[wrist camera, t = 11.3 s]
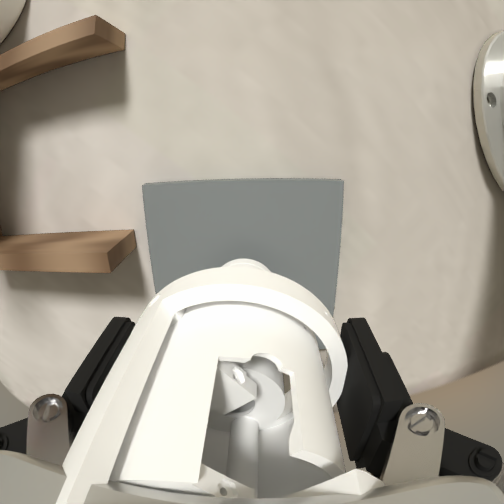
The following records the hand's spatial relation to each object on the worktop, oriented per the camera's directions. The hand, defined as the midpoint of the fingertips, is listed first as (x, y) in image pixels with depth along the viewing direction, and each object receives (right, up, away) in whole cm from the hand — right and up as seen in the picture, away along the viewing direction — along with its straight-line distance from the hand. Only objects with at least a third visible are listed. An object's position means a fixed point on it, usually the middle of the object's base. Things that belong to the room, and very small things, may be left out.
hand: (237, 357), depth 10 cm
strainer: (0, +2, +5) cm, 6 cm away
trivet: (0, +3, +7) cm, 7 cm away
